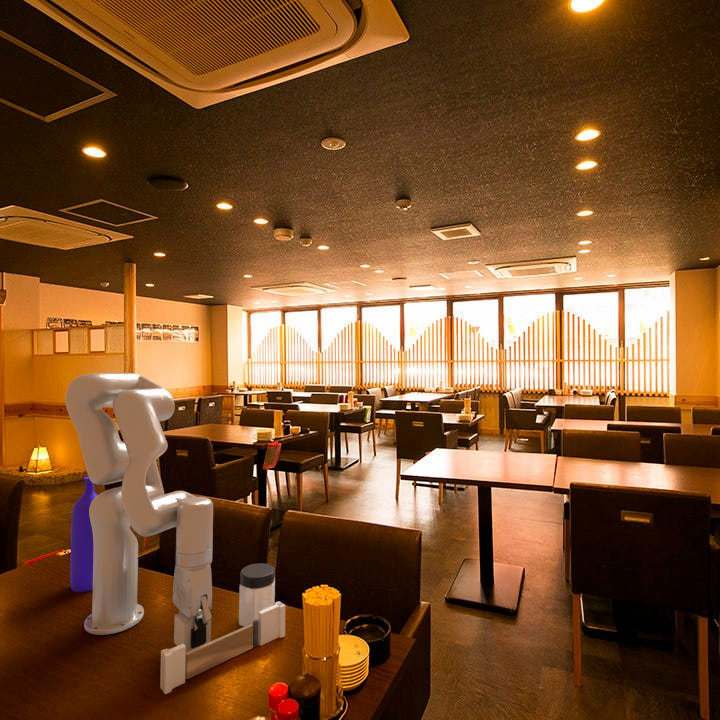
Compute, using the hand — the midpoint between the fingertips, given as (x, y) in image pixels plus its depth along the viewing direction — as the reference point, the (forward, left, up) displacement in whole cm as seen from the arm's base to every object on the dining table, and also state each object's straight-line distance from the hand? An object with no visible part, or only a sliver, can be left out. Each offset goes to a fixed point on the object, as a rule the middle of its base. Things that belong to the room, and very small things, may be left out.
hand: (192, 638), depth 100 cm
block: (0, 0, -1) cm, 1 cm away
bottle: (-47, -9, -2) cm, 48 cm away
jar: (0, +16, -2) cm, 16 cm away
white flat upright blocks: (+9, +3, -2) cm, 10 cm away
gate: (+9, +3, -2) cm, 10 cm away
